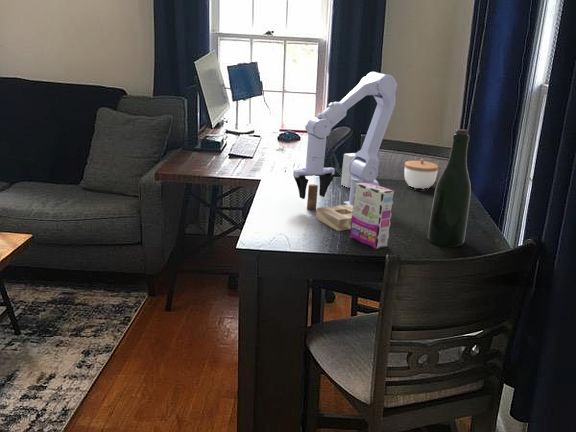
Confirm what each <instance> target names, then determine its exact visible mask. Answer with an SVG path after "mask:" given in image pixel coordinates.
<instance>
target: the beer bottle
mask: <svg viewBox="0 0 576 432" xmlns="http://www.w3.org/2000/svg"><path fill="white" fill-rule="evenodd" d="M469 142H470V135H469V130H467V129H464V128H463V129H462V128H457V129H455V133H453V135H452V142H451V143H452V145H451V149H450V154H449V157H448V161H447V162H446V163H447V164H446V165H445V167H444V169H443V171H442V173H441V175H440V176H439V179H438V180H437V184H436V185H435V186H436V187H435V190H434V194H433V195H434V196H433V201H432V205H431V212H430V213H431V214H430V217H429V218H430V219H429V224H428V232H427V239H428V241H430V242H431V243H433V244H434V245H437V246H441V247H448V248H456V247H457V248H458V247H460V246H462V245H463V244H464V243H465V238H466V232H467V227H468V218H469V212H470V204H471V193H472V189H471V188H472V187H471V186H472V185H471V181H470V175H469V171H468V166H467V165H468V163H467V160H468V159H467V156H468V155H467V154H468V147H469Z"/></svg>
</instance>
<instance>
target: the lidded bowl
mask: <svg viewBox="0 0 576 432" xmlns="http://www.w3.org/2000/svg"><path fill="white" fill-rule="evenodd" d="M439 167H440V166H439V165H438V164H436V163H434V162H432V161H431V162H429V161H425V159H424V158H420V160H408V161H407V160H406V161H405V162H404V170H403V171H404V174H403V175H404V180H405V182H406V184H407V185H408V187H409V186H411V187H414V188H422V189H424V188H428V189H429V188H430V187H432V186H433V185H434V184H435V182H436V180H437V176H438V172H439Z"/></svg>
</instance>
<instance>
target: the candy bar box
mask: <svg viewBox="0 0 576 432" xmlns="http://www.w3.org/2000/svg"><path fill="white" fill-rule="evenodd" d="M394 197H395V190H393V189H390V188H387V187H384V186H380V185H379V186H378V185H375V184H372V183H369V182H361V183H355V192H354V201H353V211H352V221H351V229H350V233H349V238H350V239H353V240H355V241H357V242H360V243H362V244H364V245H367V246H369V247H371V248H373V249H375V250H376V249H377V250H378V249H382V248H383V249H384V248H386V247H389V246H388V245H389V239H390V231H391V221H392V215H393V206H394V199H395V198H394Z"/></svg>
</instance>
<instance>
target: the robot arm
mask: <svg viewBox="0 0 576 432" xmlns="http://www.w3.org/2000/svg"><path fill="white" fill-rule="evenodd" d="M397 88H398V83H397V81H396V79H395V77H394V76H393V75H392V74H387V73H386V74H385V73H381V72H377V71H370V72H369V73H367V74H366V76H363V77H362V78H361V79H360V81H359V82H358V84H357V85H356V86H354V88H353V89H351V90H350V91H349V92H348V93H347V94H346V96H344V97H343V98H342V99H341V100H339V101H333V102H329V103H328V107H326V108H325V109H324V110H322V111H321V112H319V113H318V114H317V115H316V117H312V118H310V119H309V120H308V121H307V123H306V125H305V131H306V132H307V147H306V148H307V149H306V160H305V167H304V168H300V169H295V170H293V171H292V172H293V175H292V176H293V179H294V181H295V183H296V186H297V190H298V195H299V198H300V199H301V200H305V199H306V192H307V187H308V183H309V179H307V177H311V176H318V178H319V188H318V192H319V196H320V197H322V198H325V195H326V192H327V191H328V189H329V187H330V184H331V183H332V181H333V180H334V176H333V175H335V172H336V170H335V168H334V167H324V166H325V159H326V158H325V157H326V155H325V154H326V147H327V137H329V136H330V134H331V131H332V129H333V127H335V126H336V125H337V124H338V123H339V122H341V120H343V119H344V118H345V117H347V112H348V110H349V109H350V108H351V107H353V106H354V105H355V104H357V103H358V102H359V101H361V100H362V99H364V98H365V97H366V96H373V98H374V99H375V101H376V107H375V110H374V113H373V115H372V117H371V122H370V124H369V127H368V130H367V132H366V135H365V138H364V141H363V143H362V146H361V149H359V150H358V151H357V152H355V153H356V154H355V156H354V158H353V159H352V160H351V162H350V163H349V172H350V173H351V187H350V190H349V198H348V199H349V200H346V201H343V204H344V205H347V204H349V205H351V206H353V201H354V192H355V183H361V182H369V183H372V184H375V185H378V186H380V184H379V182H378V180H377V177H378V174H379V166H380V160H379V157H378V152H379V151H380V147H381V144H382V141H383V140H384V139H383V138H384V136H385V135H386V134H385V133H386V131H387V128H388V125H389V122H390V119H391V117H392V115H393V112H394V110H395V107H396V102H397V101H396V98H397V97H396V91H397Z"/></svg>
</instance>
